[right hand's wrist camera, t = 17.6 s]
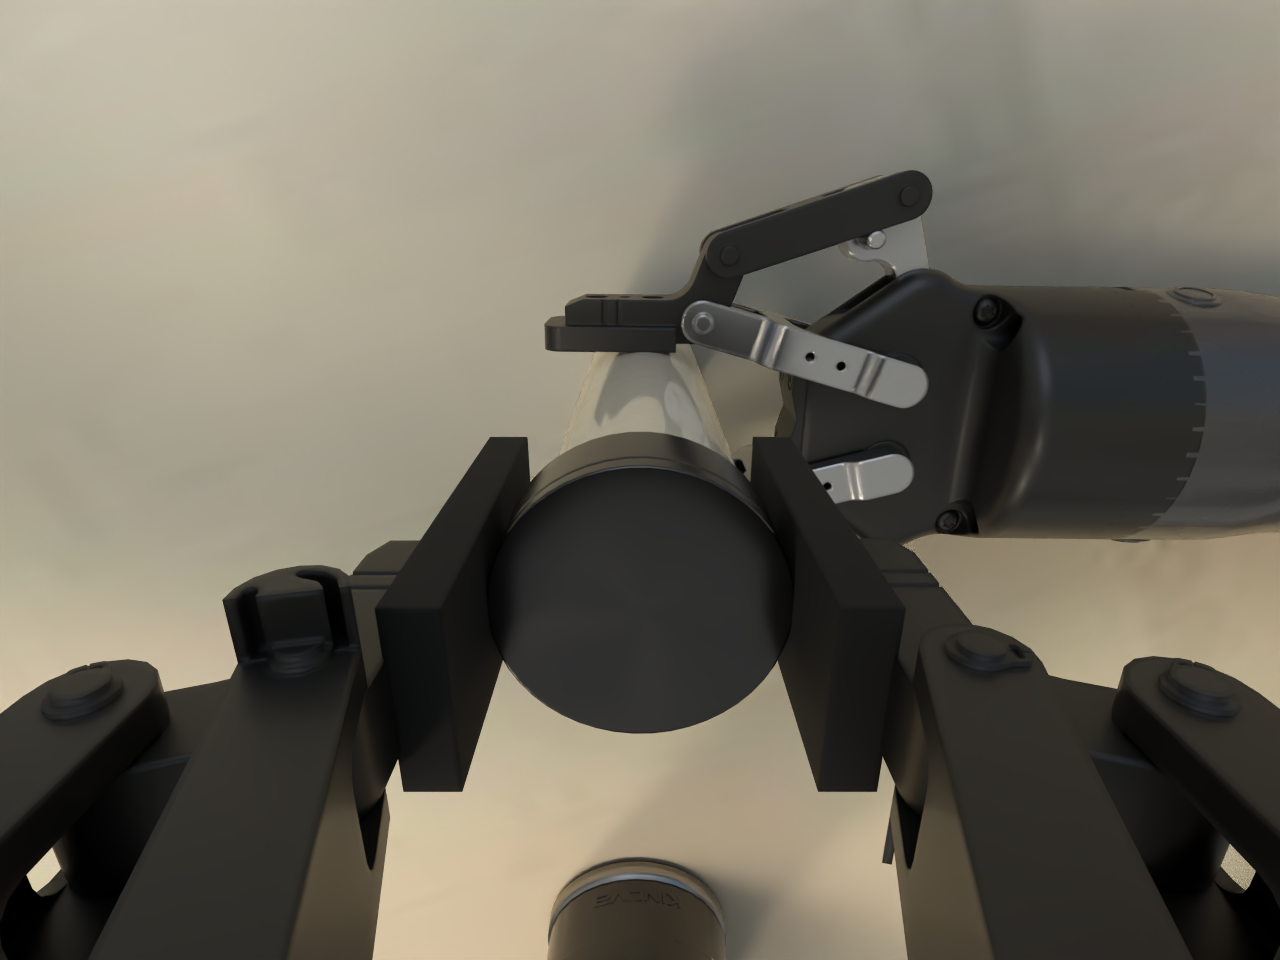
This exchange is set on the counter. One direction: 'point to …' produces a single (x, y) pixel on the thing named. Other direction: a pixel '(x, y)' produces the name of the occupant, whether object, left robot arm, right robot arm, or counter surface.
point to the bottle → (646, 399)
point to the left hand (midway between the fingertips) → (554, 409)
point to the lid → (640, 585)
